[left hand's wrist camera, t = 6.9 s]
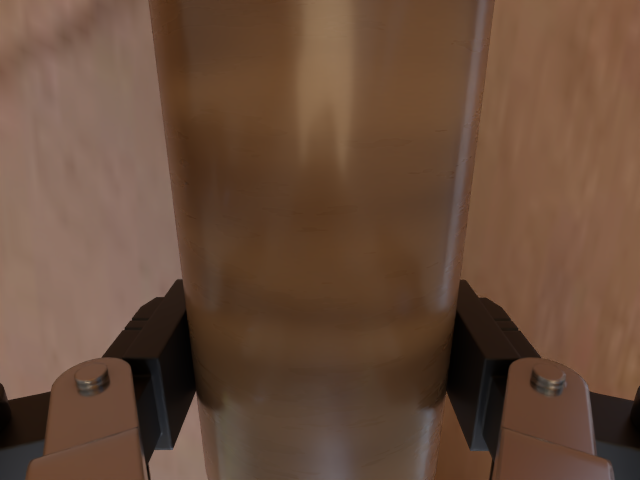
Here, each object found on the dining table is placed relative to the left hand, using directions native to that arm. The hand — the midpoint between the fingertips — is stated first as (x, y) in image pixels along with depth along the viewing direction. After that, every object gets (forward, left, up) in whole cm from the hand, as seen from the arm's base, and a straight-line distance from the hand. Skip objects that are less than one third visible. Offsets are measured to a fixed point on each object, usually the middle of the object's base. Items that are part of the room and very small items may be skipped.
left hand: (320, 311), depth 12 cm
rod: (+5, +9, -2) cm, 10 cm away
